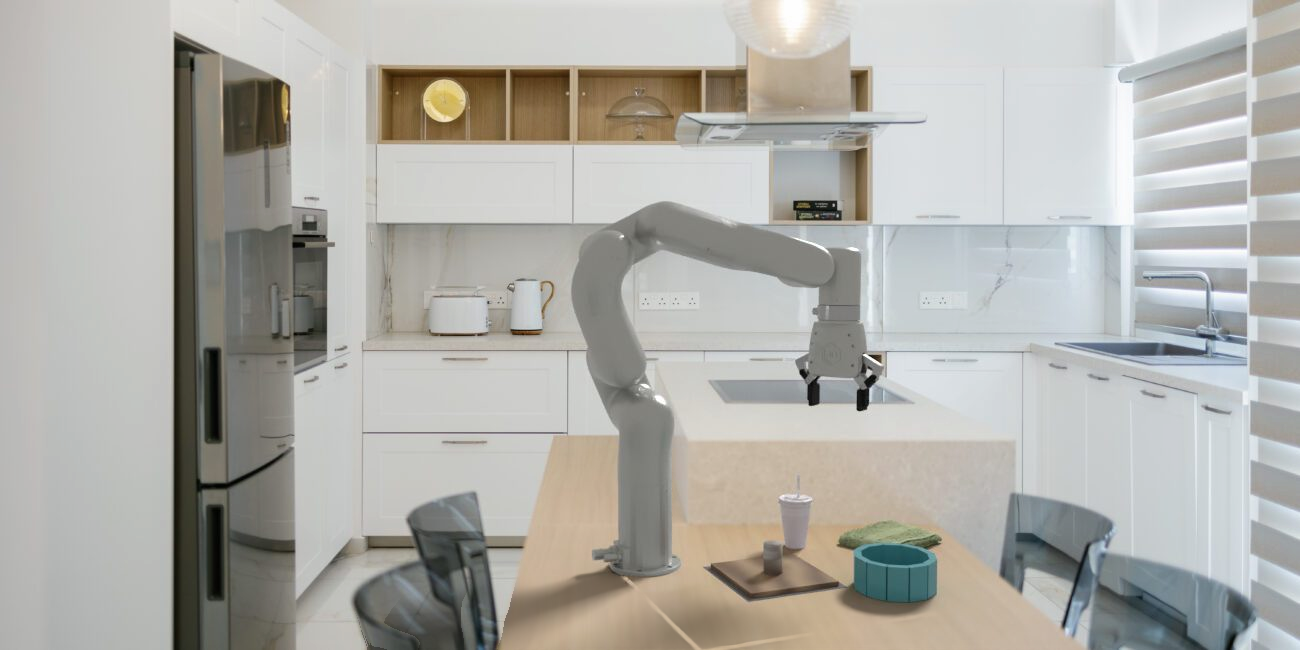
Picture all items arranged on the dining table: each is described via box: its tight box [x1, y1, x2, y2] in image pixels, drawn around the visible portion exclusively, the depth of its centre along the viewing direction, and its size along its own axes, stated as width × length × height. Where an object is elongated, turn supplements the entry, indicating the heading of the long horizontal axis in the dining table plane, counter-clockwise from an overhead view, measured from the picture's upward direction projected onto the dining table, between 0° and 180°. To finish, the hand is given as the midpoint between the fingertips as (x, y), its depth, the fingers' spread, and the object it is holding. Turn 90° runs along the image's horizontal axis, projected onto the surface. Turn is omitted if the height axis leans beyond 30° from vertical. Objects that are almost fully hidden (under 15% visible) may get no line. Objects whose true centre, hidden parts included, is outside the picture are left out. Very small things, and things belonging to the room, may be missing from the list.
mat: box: [703, 565, 848, 603], centre depth 161 cm, size 18×18×1 cm
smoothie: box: [778, 474, 814, 550], centre depth 177 cm, size 6×6×14 cm
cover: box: [710, 539, 840, 599], centre depth 160 cm, size 16×16×6 cm
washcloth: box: [837, 519, 943, 549], centre depth 180 cm, size 13×18×3 cm
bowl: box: [852, 543, 938, 603], centre depth 155 cm, size 13×13×6 cm
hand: (837, 407), depth 174 cm, fingers open, 9 cm apart
